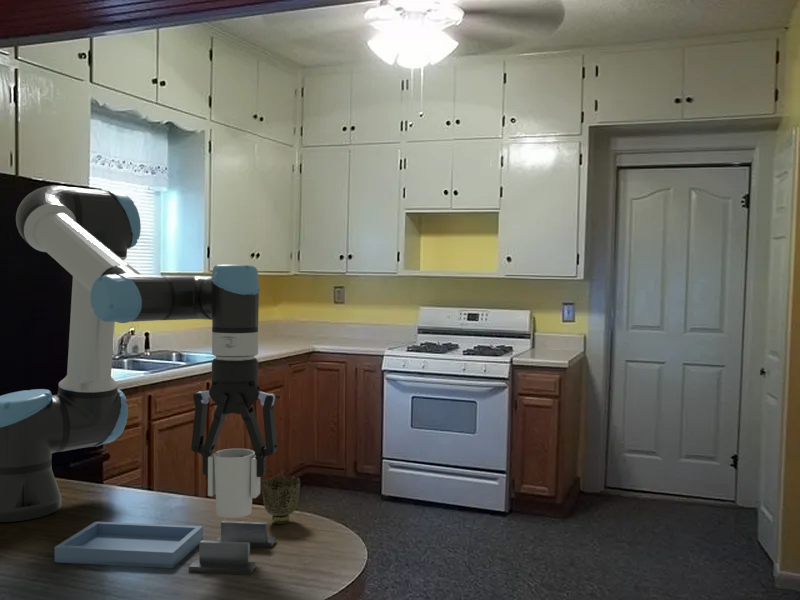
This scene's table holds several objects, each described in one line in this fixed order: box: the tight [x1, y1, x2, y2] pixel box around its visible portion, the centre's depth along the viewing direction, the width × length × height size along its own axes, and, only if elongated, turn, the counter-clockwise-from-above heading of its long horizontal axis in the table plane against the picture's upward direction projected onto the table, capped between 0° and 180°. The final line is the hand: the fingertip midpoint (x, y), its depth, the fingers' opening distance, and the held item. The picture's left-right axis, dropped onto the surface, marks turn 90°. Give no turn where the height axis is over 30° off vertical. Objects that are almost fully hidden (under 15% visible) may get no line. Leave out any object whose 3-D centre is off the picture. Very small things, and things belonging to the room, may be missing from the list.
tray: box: [54, 521, 204, 569], centre depth 127 cm, size 13×20×2 cm, turn 84°
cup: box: [260, 475, 301, 525], centre depth 142 cm, size 8×7×8 cm
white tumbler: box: [213, 448, 256, 519], centre depth 125 cm, size 7×7×10 cm
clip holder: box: [188, 520, 277, 576], centre depth 125 cm, size 15×10×4 cm, turn 174°
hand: (234, 494), depth 125 cm, fingers closed on white tumbler, 7 cm apart
